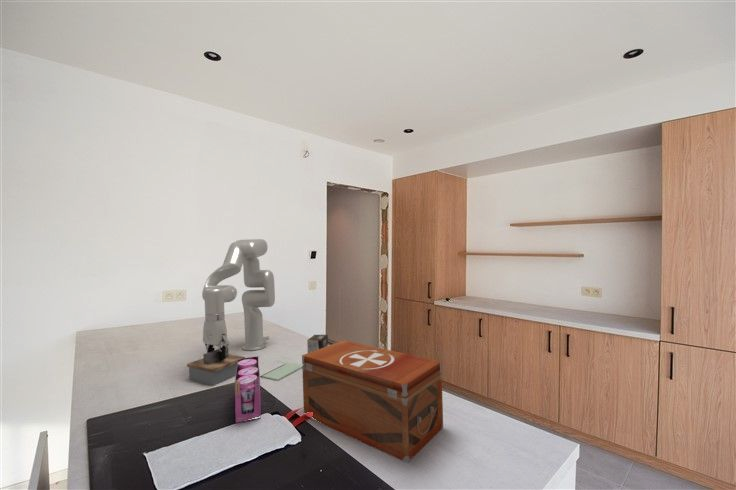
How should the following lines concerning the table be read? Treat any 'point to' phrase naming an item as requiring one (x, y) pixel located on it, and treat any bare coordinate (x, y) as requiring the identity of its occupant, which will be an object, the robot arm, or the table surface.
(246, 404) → the gum box
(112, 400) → the table surface
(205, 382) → the storage box
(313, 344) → the coffee box
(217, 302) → the robot arm
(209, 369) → the lid
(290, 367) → the sage mat
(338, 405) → the wooden box
